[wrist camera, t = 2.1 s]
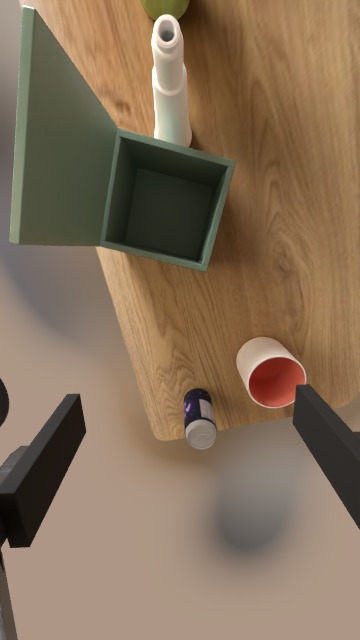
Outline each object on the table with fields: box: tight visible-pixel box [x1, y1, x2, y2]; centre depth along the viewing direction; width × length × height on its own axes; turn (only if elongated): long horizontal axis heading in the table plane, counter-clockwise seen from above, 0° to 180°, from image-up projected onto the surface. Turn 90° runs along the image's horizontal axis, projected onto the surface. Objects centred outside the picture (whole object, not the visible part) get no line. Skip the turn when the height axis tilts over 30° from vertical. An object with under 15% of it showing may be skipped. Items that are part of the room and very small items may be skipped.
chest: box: [100, 128, 236, 272], centre depth 39 cm, size 15×14×14 cm
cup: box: [236, 337, 306, 408], centre depth 49 cm, size 10×10×10 cm
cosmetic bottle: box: [152, 15, 192, 147], centre depth 32 cm, size 6×6×22 cm
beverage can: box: [184, 389, 217, 449], centre depth 51 cm, size 6×6×12 cm
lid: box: [9, 6, 117, 246], centre depth 25 cm, size 15×14×1 cm
